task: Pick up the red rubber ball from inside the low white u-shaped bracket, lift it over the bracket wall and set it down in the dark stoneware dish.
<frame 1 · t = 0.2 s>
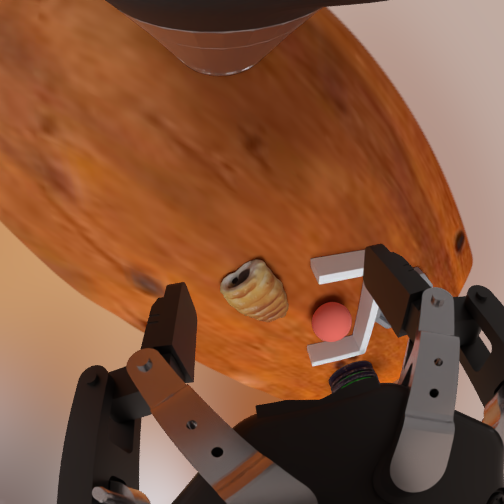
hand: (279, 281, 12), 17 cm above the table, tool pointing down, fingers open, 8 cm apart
dark blue ridged cylinder: (350, 373, 50), on the table
white u-shaped bracket: (332, 307, 38), on the table
dish: (399, 295, 38), on the table
ball: (325, 308, 38), on the table
pastry: (255, 284, 34), on the table
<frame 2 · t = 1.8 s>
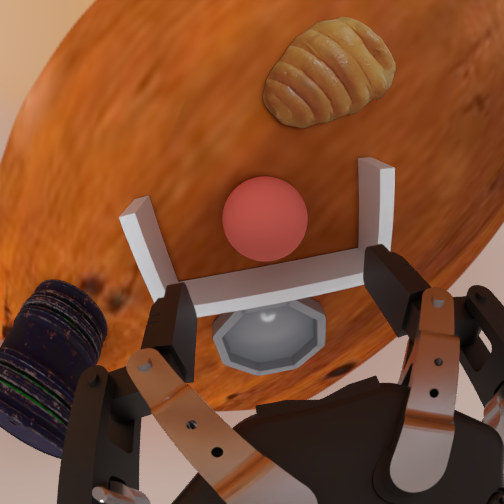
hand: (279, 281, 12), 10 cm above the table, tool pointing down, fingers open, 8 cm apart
dark blue ridged cylinder: (69, 314, 24), on the table
white u-shaped bracket: (262, 216, 21), on the table
dish: (269, 329, 27), on the table
ball: (260, 204, 20), on the table
pastry: (327, 74, 16), on the table
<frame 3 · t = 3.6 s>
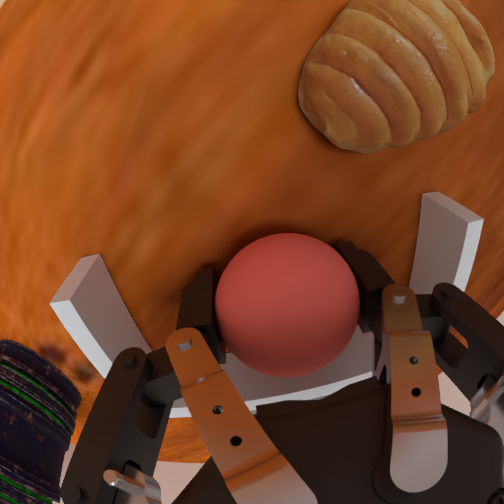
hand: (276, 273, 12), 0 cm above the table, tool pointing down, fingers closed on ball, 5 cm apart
dark blue ridged cylinder: (36, 375, 16), on the table
white u-shaped bracket: (277, 284, 13), on the table
ball: (275, 266, 13), on the table, touching gripper
pastry: (393, 64, 9), on the table
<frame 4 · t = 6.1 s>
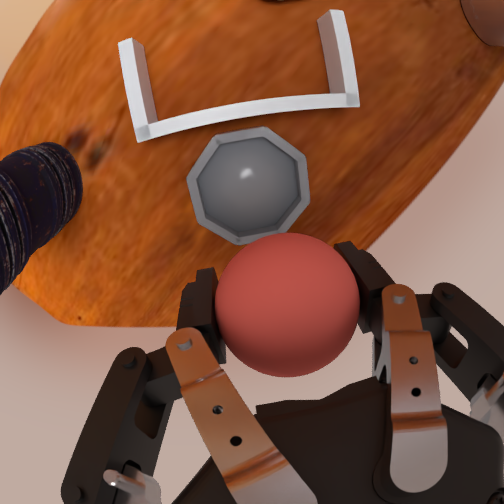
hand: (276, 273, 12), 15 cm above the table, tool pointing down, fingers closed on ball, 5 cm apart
dark blue ridged cylinder: (48, 185, 22), on the table
white u-shaped bracket: (237, 57, 19), on the table
dish: (248, 183, 25), on the table
ball: (275, 266, 13), point 14 cm above the table, touching gripper
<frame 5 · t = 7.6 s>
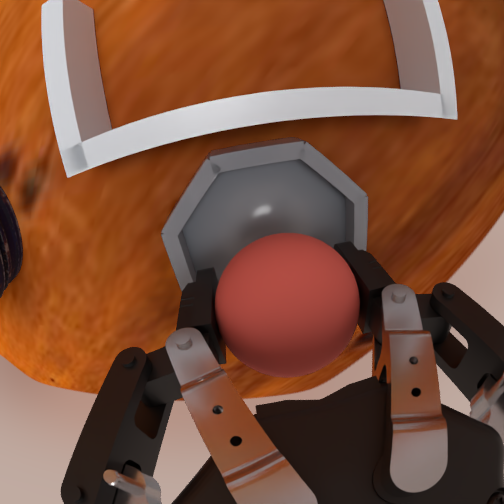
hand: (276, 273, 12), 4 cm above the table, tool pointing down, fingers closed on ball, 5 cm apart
white u-shaped bracket: (250, 17, 9), on the table
dish: (268, 235, 15), on the table
ball: (275, 266, 13), point 3 cm above the table, touching gripper
when the fingers open (2 cm above the table, at t = 8.8 s): ball drops 1 cm, resting on dish.
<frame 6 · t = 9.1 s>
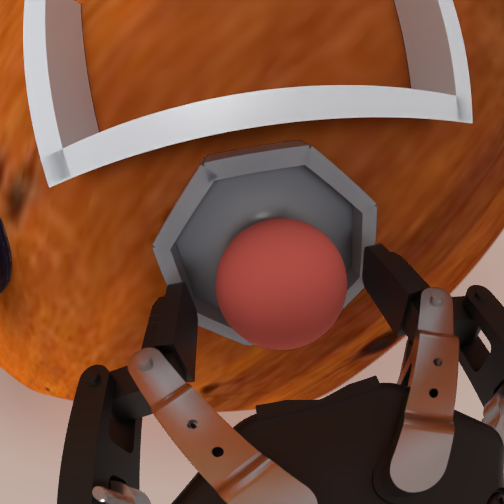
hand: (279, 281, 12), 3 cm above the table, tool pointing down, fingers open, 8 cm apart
white u-shaped bracket: (250, 10, 8), on the table
dish: (268, 246, 14), on the table
ball: (271, 251, 14), point 1 cm above the table, touching dish
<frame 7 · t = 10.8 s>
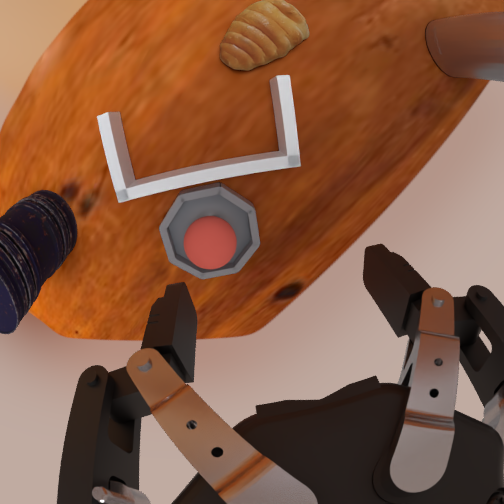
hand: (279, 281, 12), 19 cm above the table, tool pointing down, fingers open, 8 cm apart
dark blue ridged cylinder: (48, 225, 28), on the table
white u-shaped bracket: (197, 123, 25), on the table
dish: (210, 229, 31), on the table
ball: (210, 231, 30), point 1 cm above the table, touching dish
pastry: (263, 36, 22), on the table
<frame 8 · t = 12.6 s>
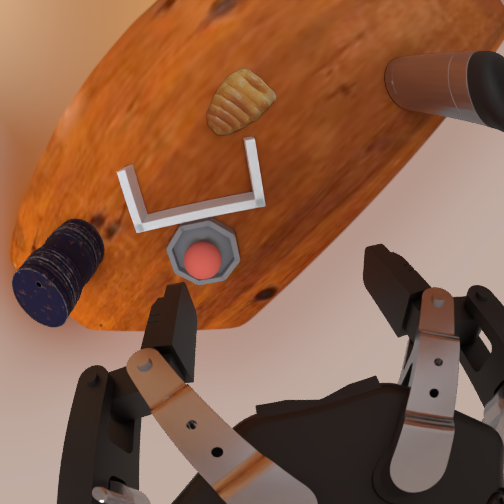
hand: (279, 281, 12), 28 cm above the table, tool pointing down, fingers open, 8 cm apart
dark blue ridged cylinder: (80, 244, 40), on the table
white u-shaped bracket: (191, 173, 36), on the table
dish: (203, 249, 42), on the table
ball: (203, 250, 42), point 1 cm above the table, touching dish
pastry: (241, 101, 32), on the table
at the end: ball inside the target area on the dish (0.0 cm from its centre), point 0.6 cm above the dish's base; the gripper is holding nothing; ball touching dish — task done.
